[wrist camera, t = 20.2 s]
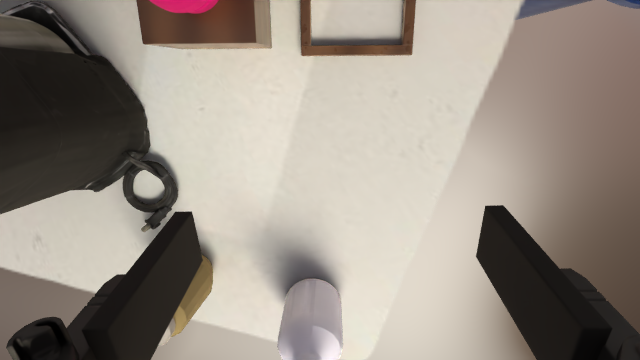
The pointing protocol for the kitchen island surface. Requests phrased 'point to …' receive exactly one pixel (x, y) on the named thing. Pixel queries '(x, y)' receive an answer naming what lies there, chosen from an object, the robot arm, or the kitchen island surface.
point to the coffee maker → (66, 117)
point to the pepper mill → (185, 5)
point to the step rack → (250, 29)
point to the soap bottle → (311, 322)
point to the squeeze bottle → (191, 300)
